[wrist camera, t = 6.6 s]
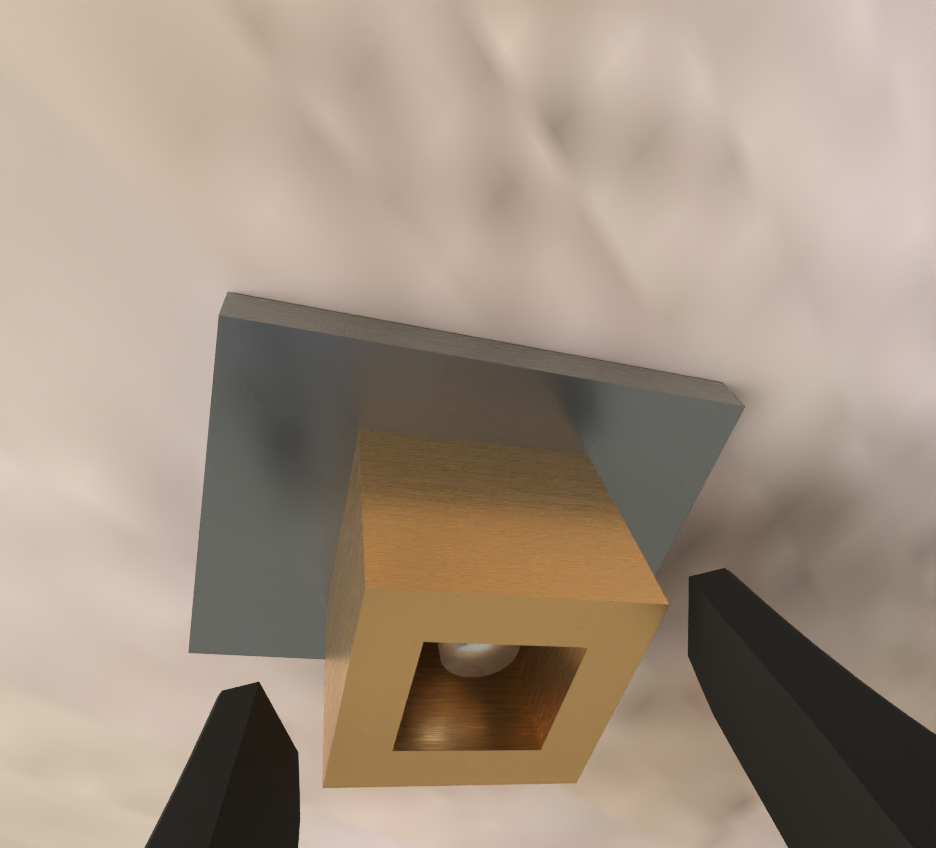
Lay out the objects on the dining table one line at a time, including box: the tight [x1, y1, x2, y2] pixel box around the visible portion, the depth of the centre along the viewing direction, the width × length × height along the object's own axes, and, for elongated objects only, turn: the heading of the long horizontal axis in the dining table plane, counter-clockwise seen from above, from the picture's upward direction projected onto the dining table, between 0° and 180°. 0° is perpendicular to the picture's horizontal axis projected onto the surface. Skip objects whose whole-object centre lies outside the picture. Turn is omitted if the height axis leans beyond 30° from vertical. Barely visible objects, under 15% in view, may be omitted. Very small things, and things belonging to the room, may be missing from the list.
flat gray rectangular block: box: [189, 292, 745, 677], centre depth 13 cm, size 10×8×4 cm
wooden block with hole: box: [323, 429, 669, 788], centre depth 13 cm, size 5×5×4 cm
